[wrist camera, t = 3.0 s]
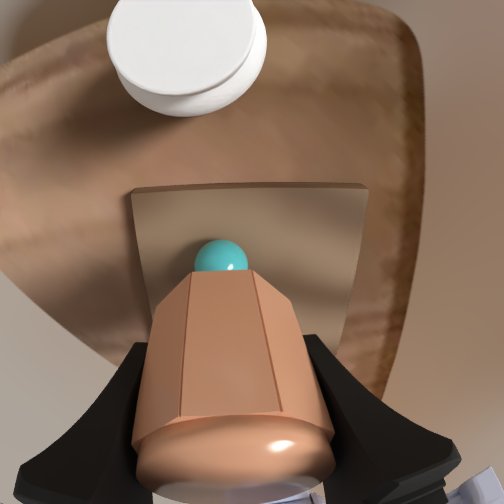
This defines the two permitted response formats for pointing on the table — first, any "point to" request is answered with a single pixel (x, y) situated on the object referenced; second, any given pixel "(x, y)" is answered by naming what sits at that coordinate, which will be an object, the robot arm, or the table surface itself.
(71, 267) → the table surface
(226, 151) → the table surface
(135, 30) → the supplement bottle
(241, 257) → the teal ball
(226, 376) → the faceted octagonal canister
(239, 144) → the table surface
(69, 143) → the table surface
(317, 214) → the walnut board
